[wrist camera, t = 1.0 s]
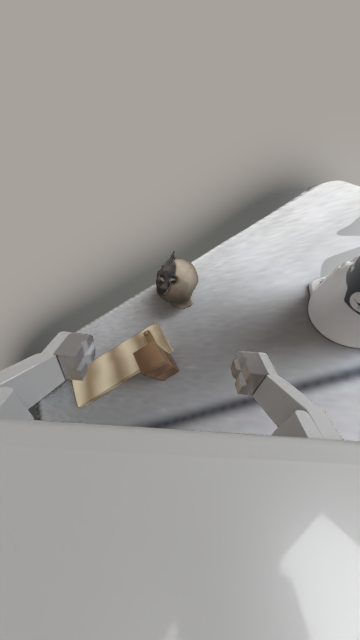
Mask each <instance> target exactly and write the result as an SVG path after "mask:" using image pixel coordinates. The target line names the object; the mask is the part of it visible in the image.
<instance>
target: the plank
mask: <svg viewBox="0 0 360 640" xmlns="http://www.w3.org/2000/svg"><path fill="white" fill-rule="evenodd" d="M147 330H149V331H150V332H151V334H152V336H153V338H154V340H155V342H156V344H157V345H158V346H160V347H161V348H162V349H163V350H165V351H166V352H167V353H168V354H170V353H172V352H174V351H173V350H172V348H171V346H170V344H169V342H168V341H167V339H166V337H165V335H164V333H163V332H162V330H161V328H160V326H159V325H158V324H157V322H156V323H154V324H152V325H151V326H149V327H148V328H146V329H144V330H143V331H141V332H139V333H138V334H136V335H135V336H133V337H131V338H130V339H128V340H126V341H125V342H123V343H122V344H120V345H118V346H117V347H115V348H113V349H112V350H110V351H109V352H107V353H105V354H104V355H102V356H100V357H99V358H97V359H96V360H94V361H93V362H92V363H91V364H90V365H88V366H87V367H88V371H87V373H86V375H85V377H84V379H83V381H80V380H72V383H73V387H74V392H75V396H76V400H77V405H78V408H79V407H85V406H87V405H89V404H90V403H92V402H93V401H95V400H97V399H98V398H100V397H101V396H103V395H105V394H106V393H108V392H109V391H111V390H113V389H114V388H116V387H118V386H119V385H121V384H122V383H124V382H126V381H127V380H129V379H130V378H132V377H134V376H135V375H137V374H138V373H140V372H141V371H140V369H139V367H138V364H137V362H136V360H135V357H134V355H133V353H134V352H136V351H137V350H139V349H141V348H142V347H144V346H146V345H147V344H148V342H147V340H146V338H145V336H144V334H143V333H144V331H147Z"/></svg>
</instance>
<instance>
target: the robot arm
mask: <svg viewBox="0 0 360 640" xmlns="http://www.w3.org/2000/svg"><path fill="white" fill-rule="evenodd" d="M309 291H310V295H311V297H310V301H309V305H308V313H309V317H310V319H311V321H312V323H313V325H314V326H315V327H316V328H317V330H318V331H319V332H320V333H322V334H323V335H324V336H325V337H327V338H328V339H330V340H332V341H334V342H336V343H338V344H341V345H344V346H348V347H354V348H360V255H359V256H357V257H356V258H354V259H353V260H352V261H351V262H349V261H347V262H345V263H344V264H342V265H341V266H338V267H337V268H335V269H334V270H333V271H332V272H331V273H330V274H329V275H327V276H324V277H322V278H319V279H317V280H314V281H312V282H311V283H310V284H309ZM93 341H94V340H93V336H92V335H88V334H80V333H70V332H64V331H62V332H59V333H58V334H57V335H56V337H55V338H54V339H53V340H52V341H51V342H50V344H49V345H48V346H47V347H46V348H45V349H44V351H42V353H41V354H38V353H37V354H35V355H33V356H31V357H29V358H27V359H25V360H23V361H21V362H18V363H16V364H14V365H12V366H10V367H8V368H6V369H4V370H2V371H0V640H360V441H349V440H344V439H343V438H342V436H341V435H340V433H339V432H338V430H337V429H336V427H335V426H334V424H333V423H332V421H331V420H330V418H329V417H328V415H327V414H326V412H325V411H324V410H322V409H321V408H320V407H319V406H317V405H316V404H315V403H314V402H312V401H311V400H310V399H309V398H307V397H306V396H305V395H304V394H302V393H301V392H300V391H299V390H297V389H296V388H295V387H294V386H292V385H291V384H290V383H289V382H287V381H286V380H285V379H284V378H282V377H280V376H278V374H277V372H276V370H275V368H274V367H273V365H272V363H271V361H270V359H269V357H268V356H267V354H266V353H260V352H249V351H238V352H237V354H236V356H237V359H235V360H234V361H233V363H232V368H231V370H232V375H233V377H234V378H235V379H236V382H235V386H236V389H237V392H238V394H244V395H253V398H254V399H255V400H256V401H257V402H258V404H259V405H260V406H261V407H262V408H263V410H264V411H265V412H266V413H267V414H268V416H269V417H270V418H271V419H272V420H273V422H274V423H275V424H276V425H277V426H278V428H277V429H276V430H275V431H274V432H273V434H272V436H271V435H256V434H240V433H225V432H210V431H195V430H179V429H164V428H148V427H133V426H117V425H102V424H86V423H71V422H55V421H40V420H34V419H33V416H32V415H31V413H30V412H29V411H28V409H29V408H30V407H32V406H33V405H34V404H36V403H37V402H38V401H40V400H41V399H42V398H43V397H45V396H46V395H47V394H49V393H50V392H51V391H52V390H54V389H55V388H56V387H58V386H59V385H60V384H61V383H63V382H64V381H65V380H80V381H83V379H84V377H85V375H86V373H87V371H88V367H87V366H88V365H90V364H91V363H92V362H93V360H94V356H95V346H94V345H93V344H92V342H93Z"/></svg>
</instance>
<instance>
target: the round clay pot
mask: <svg viewBox="0 0 360 640" xmlns="http://www.w3.org/2000/svg"><path fill="white" fill-rule="evenodd" d="M197 283H198V275H197V272H196V270H195V268H194V266H193V265H192V264H191V263H190V262H188V261H187V260H184V259H182V258H174V252H173V254H172V256H171V257H170V259H169V260H168V261H166V262H165V263H164V265H163V266H162V268H161V270H160V271H158V273H157V279H156V285H157V286H156V288H157V293H158V295H159V296H160V297H161V298H163V299H164V300H165V301H167V302H170V303H171V304H172V305H173V306H174V307H177V308H178V309H184V308H185V307H190V306H191V305H192V304H193V303H192V301H191V300H190V298H191V295H192V292H193V290H194V289H195V287H196V285H197Z"/></svg>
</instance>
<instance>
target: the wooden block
mask: <svg viewBox="0 0 360 640" xmlns="http://www.w3.org/2000/svg"><path fill="white" fill-rule="evenodd" d="M143 334H144V336H145V338H146V340H147V342H148V344H147V345H146V346H144V347H142V348H141V349H139V350H137V351H136V352H134V353H133V355H134V357H135V360H136V362H137V364H138V367H139V369H140V371H141V374H142V375H146V376H149V377H153V378H156V379H160V380H166V379H167V378H169V377H170V376H172V375H174V374H175V373H177V372H178V371H179V370H178V368H177V366H176V364H175V362H174V360H173V358H172V357H171V355H170V354H168V353H167V352H166V351H165V350H163V349H162V348H161V347H160V346H158V345H157V344H156V342H155V340H154V338H153V336H152V334H151V332H150V331H149V330H147V331H144V333H143Z"/></svg>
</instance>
